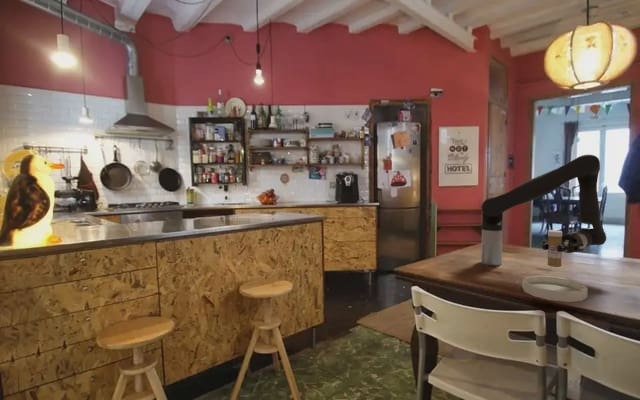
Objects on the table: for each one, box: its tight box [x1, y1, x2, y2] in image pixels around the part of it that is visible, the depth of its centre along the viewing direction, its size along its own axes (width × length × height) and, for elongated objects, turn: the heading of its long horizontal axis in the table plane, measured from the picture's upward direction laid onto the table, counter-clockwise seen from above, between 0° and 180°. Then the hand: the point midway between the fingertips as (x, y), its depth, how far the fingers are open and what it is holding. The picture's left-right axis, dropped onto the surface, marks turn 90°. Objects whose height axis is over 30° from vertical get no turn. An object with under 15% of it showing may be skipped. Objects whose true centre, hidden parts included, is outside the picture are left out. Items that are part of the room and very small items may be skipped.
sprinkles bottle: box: [547, 229, 563, 268], centre depth 135 cm, size 5×5×14 cm
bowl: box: [521, 275, 589, 303], centre depth 136 cm, size 20×20×4 cm
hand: (551, 248), depth 133 cm, fingers closed on sprinkles bottle, 4 cm apart
